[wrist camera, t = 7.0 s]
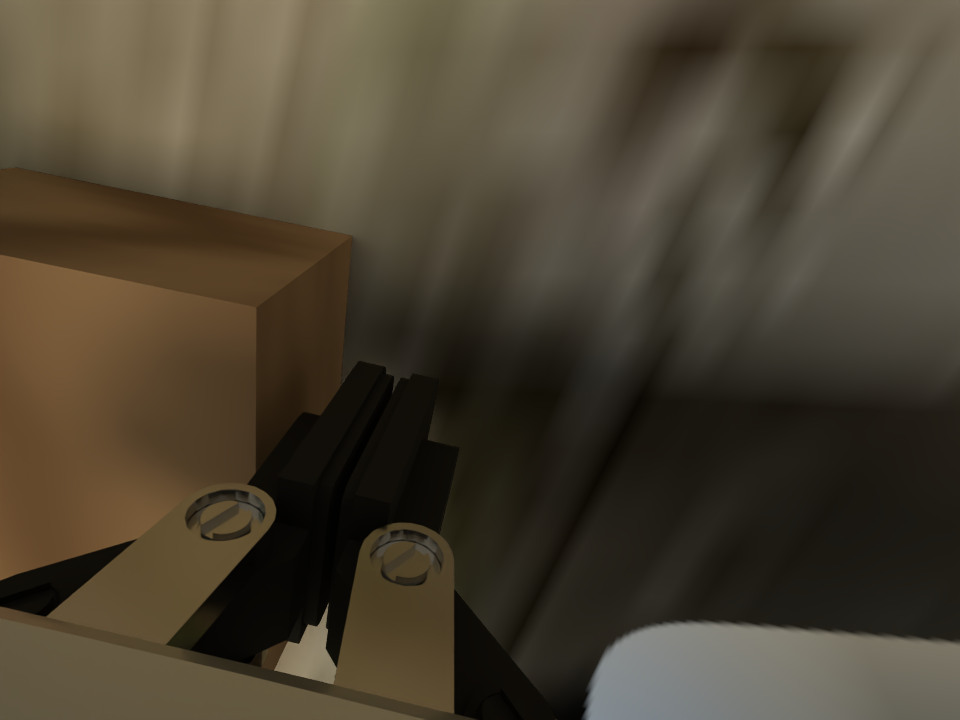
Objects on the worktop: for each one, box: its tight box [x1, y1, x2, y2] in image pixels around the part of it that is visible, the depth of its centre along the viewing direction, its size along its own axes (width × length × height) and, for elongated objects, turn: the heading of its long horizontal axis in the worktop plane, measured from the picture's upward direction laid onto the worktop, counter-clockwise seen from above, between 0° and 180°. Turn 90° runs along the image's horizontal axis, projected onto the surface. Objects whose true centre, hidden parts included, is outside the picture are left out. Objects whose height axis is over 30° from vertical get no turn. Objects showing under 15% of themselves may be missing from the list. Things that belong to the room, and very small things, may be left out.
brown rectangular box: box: [0, 168, 352, 670], centre depth 13 cm, size 8×10×5 cm
